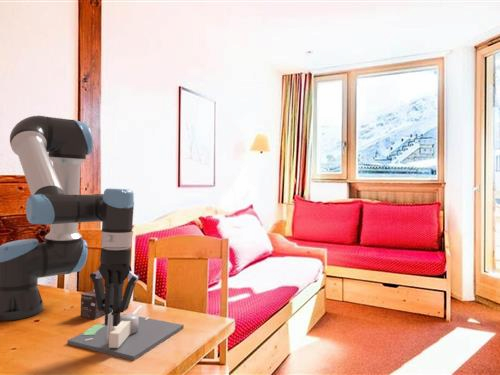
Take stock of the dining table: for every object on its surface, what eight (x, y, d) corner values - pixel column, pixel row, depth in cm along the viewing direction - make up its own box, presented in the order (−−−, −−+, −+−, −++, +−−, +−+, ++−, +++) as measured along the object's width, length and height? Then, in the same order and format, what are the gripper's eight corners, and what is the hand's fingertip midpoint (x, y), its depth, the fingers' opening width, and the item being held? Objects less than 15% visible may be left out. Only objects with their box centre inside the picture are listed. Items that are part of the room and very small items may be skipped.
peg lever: (132, 317, 113) (133, 304, 113) (148, 317, 113) (149, 305, 113) (103, 348, 92) (104, 332, 92) (123, 348, 91) (123, 332, 91)
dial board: (64, 343, 97) (64, 338, 97) (123, 316, 118) (123, 312, 118) (134, 360, 88) (134, 355, 88) (184, 327, 109) (184, 323, 109)
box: (79, 317, 116) (80, 294, 116) (94, 311, 122) (94, 289, 122) (94, 320, 114) (94, 296, 114) (108, 313, 119) (109, 291, 119)
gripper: (85, 248, 92) (80, 341, 92) (132, 251, 90) (127, 346, 90) (101, 243, 100) (96, 330, 99) (145, 247, 98) (140, 334, 98)
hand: (111, 337), depth 95 cm, fingers closed
